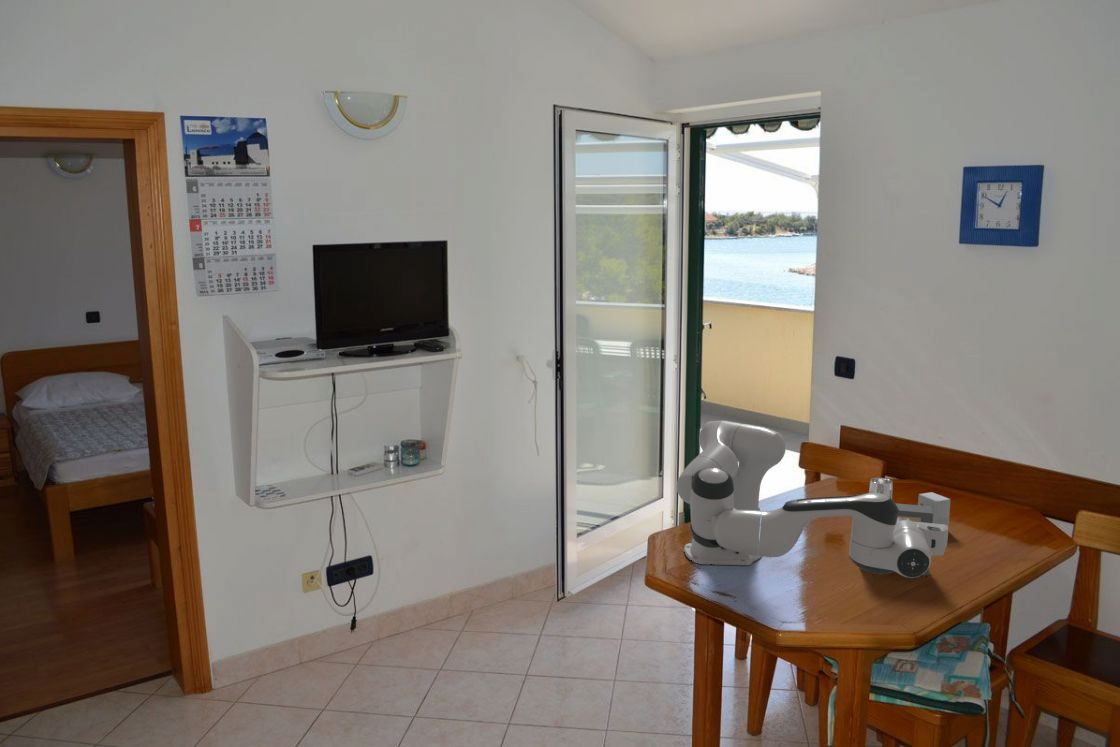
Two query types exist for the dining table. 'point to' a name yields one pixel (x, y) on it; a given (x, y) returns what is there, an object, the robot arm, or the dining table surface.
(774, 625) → the dining table surface
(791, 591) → the dining table surface
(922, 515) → the control block
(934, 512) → the small box
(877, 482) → the beer glass
